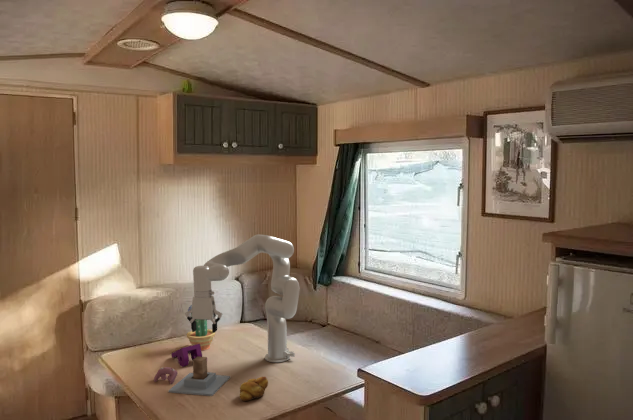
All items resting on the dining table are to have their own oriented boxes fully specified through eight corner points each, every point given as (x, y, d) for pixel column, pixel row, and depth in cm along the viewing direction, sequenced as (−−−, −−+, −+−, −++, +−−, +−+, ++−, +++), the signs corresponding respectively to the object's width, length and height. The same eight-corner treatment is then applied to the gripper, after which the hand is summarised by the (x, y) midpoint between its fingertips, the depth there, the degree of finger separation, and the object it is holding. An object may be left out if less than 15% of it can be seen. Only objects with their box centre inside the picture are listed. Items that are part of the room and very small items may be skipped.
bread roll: (247, 405, 205) (246, 385, 205) (231, 398, 212) (231, 379, 211) (270, 395, 215) (270, 376, 214) (255, 388, 221) (255, 370, 221)
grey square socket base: (230, 377, 234) (230, 369, 233) (212, 396, 214) (211, 387, 214) (189, 374, 238) (189, 366, 238) (168, 392, 218) (168, 383, 218)
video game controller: (176, 384, 230) (180, 368, 233) (171, 384, 226) (174, 367, 229) (157, 382, 233) (161, 366, 236) (152, 381, 229) (156, 365, 232)
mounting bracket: (171, 371, 258) (185, 365, 245) (168, 355, 260) (181, 347, 247) (189, 367, 264) (203, 360, 251) (185, 350, 266) (199, 343, 253)
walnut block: (207, 381, 228) (206, 357, 227) (202, 385, 223) (202, 360, 223) (198, 380, 229) (197, 356, 228) (193, 384, 224) (192, 359, 224)
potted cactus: (193, 342, 284) (192, 298, 282) (220, 343, 282) (219, 298, 280) (182, 352, 269) (180, 305, 267) (210, 353, 267) (209, 305, 265)
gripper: (224, 292, 229) (225, 329, 230) (188, 291, 232) (190, 328, 234) (217, 296, 221) (219, 335, 223) (180, 295, 225) (182, 333, 226)
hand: (204, 331), depth 228 cm, fingers open, 9 cm apart
